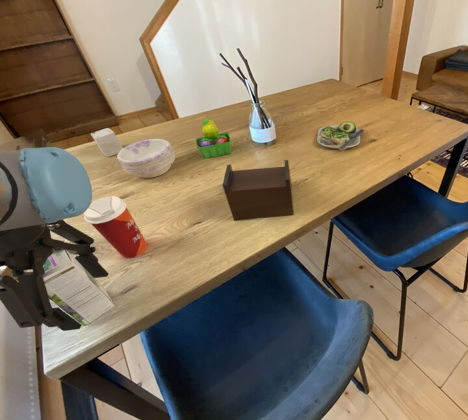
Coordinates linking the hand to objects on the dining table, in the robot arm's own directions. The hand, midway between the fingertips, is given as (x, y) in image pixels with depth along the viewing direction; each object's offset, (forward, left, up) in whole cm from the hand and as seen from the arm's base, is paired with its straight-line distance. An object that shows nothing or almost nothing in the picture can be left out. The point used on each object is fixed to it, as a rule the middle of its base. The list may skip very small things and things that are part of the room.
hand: (88, 300), depth 54 cm
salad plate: (+62, -61, -3) cm, 87 cm away
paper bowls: (+50, +4, -3) cm, 50 cm away
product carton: (+65, +23, -3) cm, 69 cm away
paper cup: (+15, -2, -3) cm, 15 cm away
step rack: (+29, -33, -3) cm, 44 cm away
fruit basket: (+59, -15, -3) cm, 61 cm away
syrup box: (0, 0, -3) cm, 3 cm away
